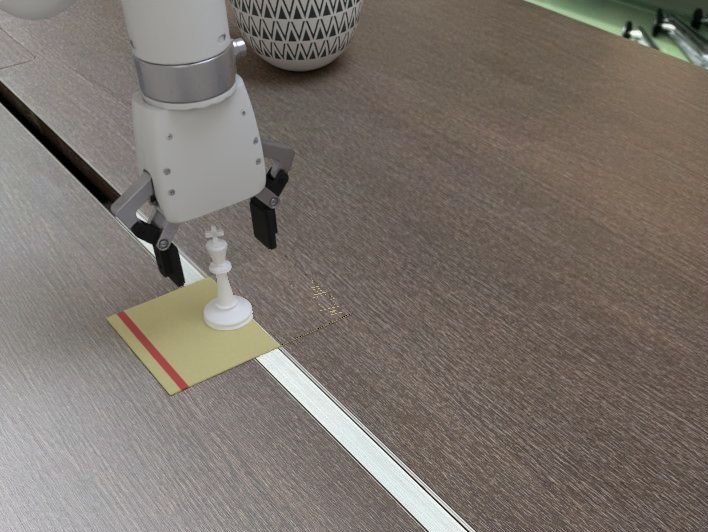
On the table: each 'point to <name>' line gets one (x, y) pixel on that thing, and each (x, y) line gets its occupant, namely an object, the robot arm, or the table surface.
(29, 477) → the table surface
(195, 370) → the paper
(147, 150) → the robot arm
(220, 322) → the chess piece
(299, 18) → the planter
